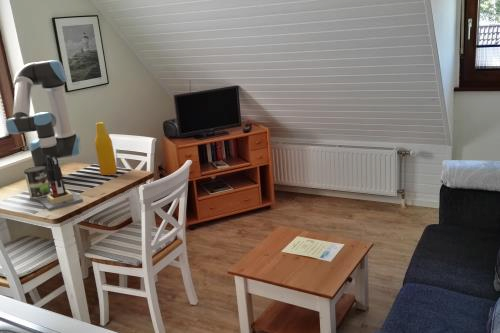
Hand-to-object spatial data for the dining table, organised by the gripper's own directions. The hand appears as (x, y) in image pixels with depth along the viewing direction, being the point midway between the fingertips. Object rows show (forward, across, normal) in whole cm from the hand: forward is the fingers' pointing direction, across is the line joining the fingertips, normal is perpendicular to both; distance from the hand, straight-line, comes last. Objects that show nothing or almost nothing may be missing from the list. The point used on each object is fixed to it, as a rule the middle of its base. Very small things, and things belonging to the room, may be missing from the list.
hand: (58, 191), depth 250 cm
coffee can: (+5, -20, -5) cm, 21 cm away
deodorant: (+4, 0, 0) cm, 4 cm away
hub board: (+5, 0, 0) cm, 5 cm away
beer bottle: (+5, -27, +34) cm, 44 cm away
